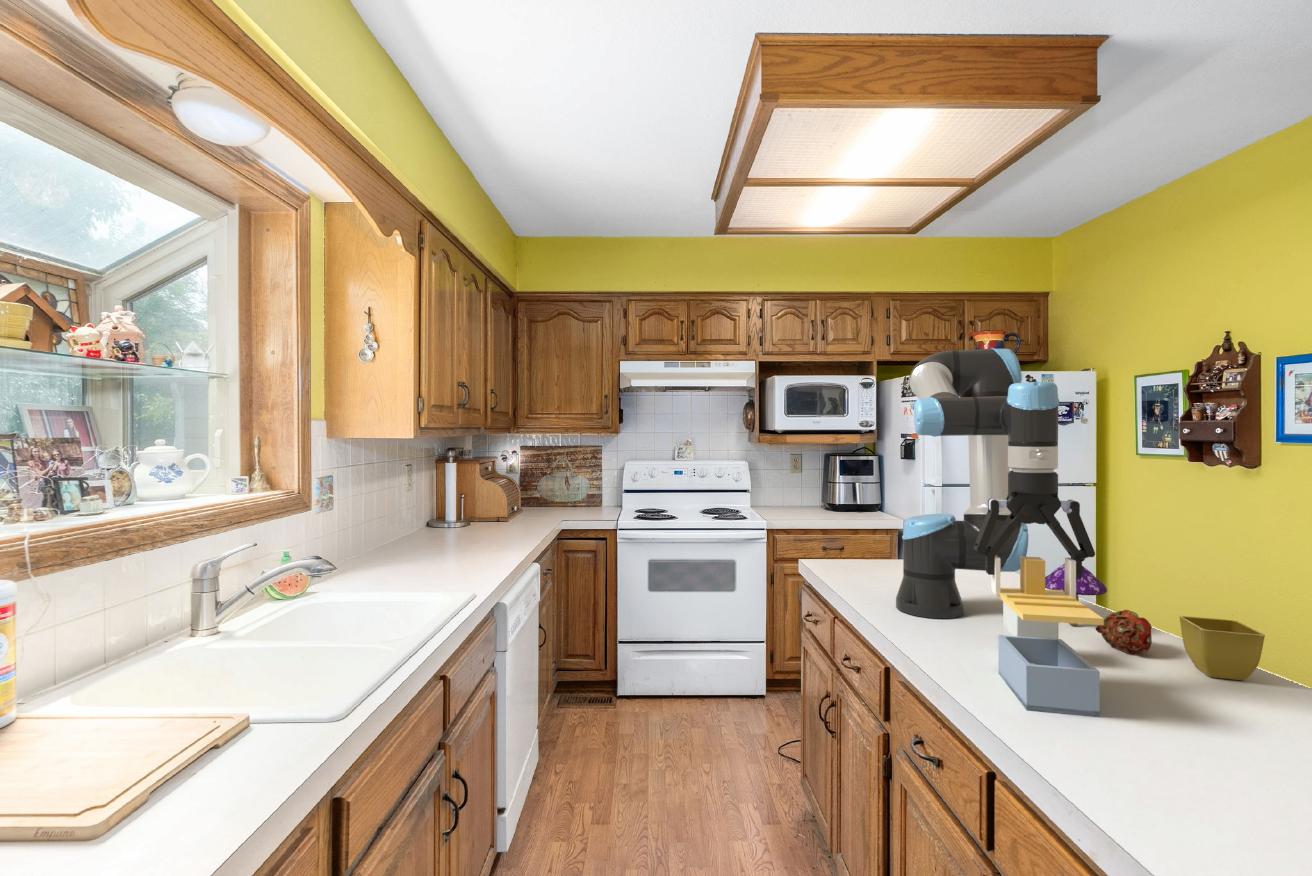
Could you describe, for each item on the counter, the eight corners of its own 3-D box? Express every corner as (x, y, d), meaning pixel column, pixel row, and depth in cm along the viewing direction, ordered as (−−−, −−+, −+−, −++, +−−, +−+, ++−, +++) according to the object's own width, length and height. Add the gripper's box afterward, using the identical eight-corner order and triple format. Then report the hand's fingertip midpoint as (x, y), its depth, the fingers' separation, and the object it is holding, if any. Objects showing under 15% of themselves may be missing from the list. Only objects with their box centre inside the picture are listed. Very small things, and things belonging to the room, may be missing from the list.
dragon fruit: (1130, 668, 116) (1114, 656, 127) (1174, 646, 114) (1154, 636, 125) (1096, 627, 119) (1084, 619, 130) (1139, 605, 117) (1123, 599, 128)
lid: (993, 595, 111) (993, 554, 111) (1062, 599, 109) (1062, 556, 108) (1023, 624, 96) (1023, 576, 96) (1103, 628, 93) (1103, 579, 93)
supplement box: (1060, 666, 113) (1059, 599, 113) (1016, 664, 115) (1016, 597, 115) (1043, 652, 120) (1043, 589, 120) (1002, 650, 122) (1002, 587, 122)
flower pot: (1236, 668, 112) (1236, 619, 112) (1266, 687, 104) (1266, 634, 103) (1178, 662, 115) (1178, 615, 115) (1202, 680, 106) (1202, 629, 106)
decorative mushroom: (1039, 628, 135) (1039, 561, 135) (1041, 614, 145) (1041, 551, 145) (1109, 638, 128) (1109, 567, 128) (1106, 622, 139) (1105, 557, 138)
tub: (998, 673, 110) (998, 634, 110) (1061, 678, 108) (1061, 638, 108) (1026, 709, 96) (1026, 665, 96) (1099, 716, 93) (1099, 671, 93)
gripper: (964, 471, 106) (964, 596, 107) (1120, 472, 100) (1119, 604, 101) (955, 468, 114) (955, 585, 114) (1099, 469, 108) (1099, 592, 108)
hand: (1032, 594), depth 108 cm, fingers closed on lid, 11 cm apart
